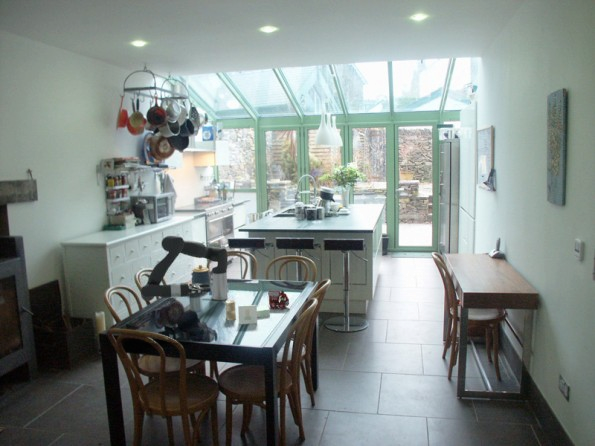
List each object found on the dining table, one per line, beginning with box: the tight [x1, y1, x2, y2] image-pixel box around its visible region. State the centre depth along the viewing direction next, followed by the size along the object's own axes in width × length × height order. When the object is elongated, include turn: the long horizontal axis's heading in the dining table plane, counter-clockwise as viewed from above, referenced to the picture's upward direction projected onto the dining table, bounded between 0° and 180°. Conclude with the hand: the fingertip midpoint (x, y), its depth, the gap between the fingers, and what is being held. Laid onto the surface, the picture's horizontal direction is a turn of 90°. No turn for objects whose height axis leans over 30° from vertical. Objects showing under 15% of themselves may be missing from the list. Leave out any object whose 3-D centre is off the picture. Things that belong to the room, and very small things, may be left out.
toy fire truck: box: [267, 290, 290, 310], centre depth 298 cm, size 7×12×10 cm, turn 81°
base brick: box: [257, 305, 271, 318], centre depth 285 cm, size 8×8×4 cm
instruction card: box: [237, 304, 258, 325], centre depth 271 cm, size 10×3×10 cm, turn 96°
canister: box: [190, 264, 212, 289], centre depth 340 cm, size 13×13×18 cm
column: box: [225, 299, 237, 321], centre depth 278 cm, size 4×4×10 cm
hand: (209, 287), depth 273 cm, fingers open, 8 cm apart
